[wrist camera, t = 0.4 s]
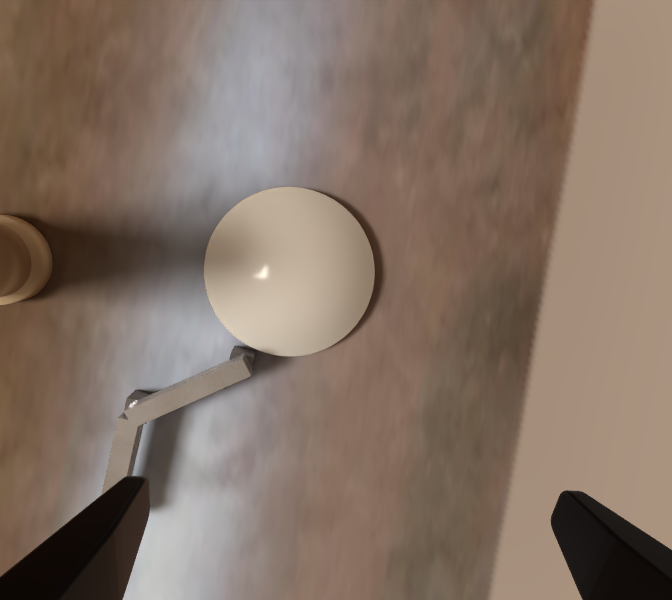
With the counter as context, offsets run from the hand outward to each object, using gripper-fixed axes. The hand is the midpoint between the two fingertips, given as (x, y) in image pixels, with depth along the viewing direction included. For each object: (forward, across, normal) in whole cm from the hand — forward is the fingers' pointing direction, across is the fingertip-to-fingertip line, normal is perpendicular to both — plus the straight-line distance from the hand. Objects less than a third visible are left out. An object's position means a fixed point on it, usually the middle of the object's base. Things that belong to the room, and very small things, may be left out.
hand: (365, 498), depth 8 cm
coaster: (+14, +2, -1) cm, 14 cm away
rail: (+13, +7, +9) cm, 17 cm away
